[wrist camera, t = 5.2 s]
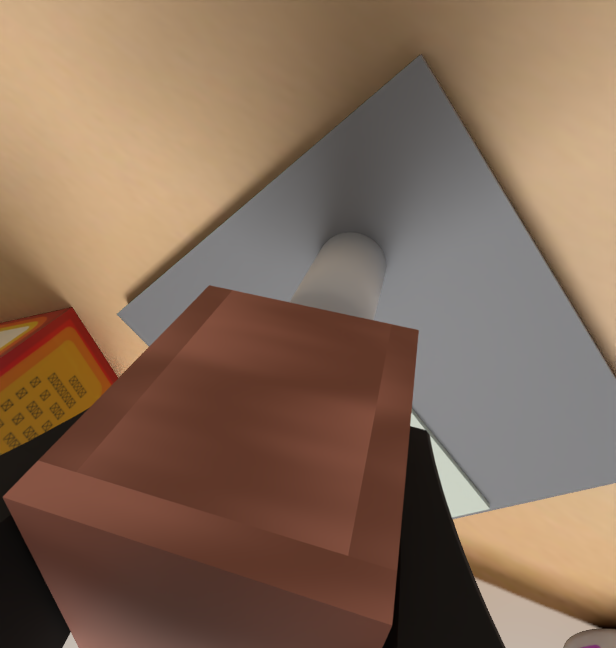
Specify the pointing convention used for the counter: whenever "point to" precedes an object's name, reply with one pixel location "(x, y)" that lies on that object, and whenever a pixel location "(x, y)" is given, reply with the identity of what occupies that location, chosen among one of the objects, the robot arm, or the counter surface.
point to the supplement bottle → (593, 639)
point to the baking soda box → (47, 374)
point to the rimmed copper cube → (232, 484)
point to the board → (425, 293)
